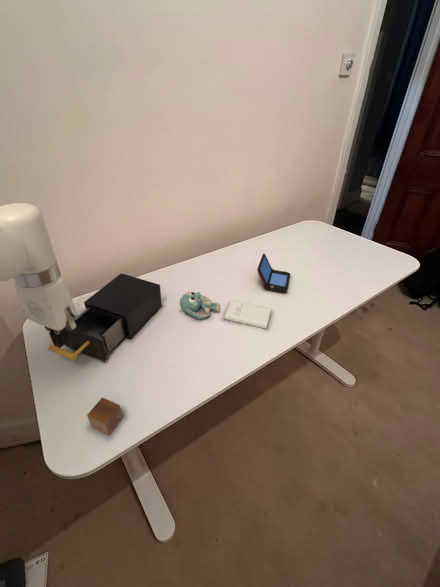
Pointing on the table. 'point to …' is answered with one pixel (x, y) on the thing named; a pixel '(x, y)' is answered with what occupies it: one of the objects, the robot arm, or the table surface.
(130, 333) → the cabinet
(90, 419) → the block
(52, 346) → the drawer
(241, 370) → the table surface
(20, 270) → the robot arm
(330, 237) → the table surface
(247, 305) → the hard drive
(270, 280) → the handheld console
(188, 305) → the stuffed animal
